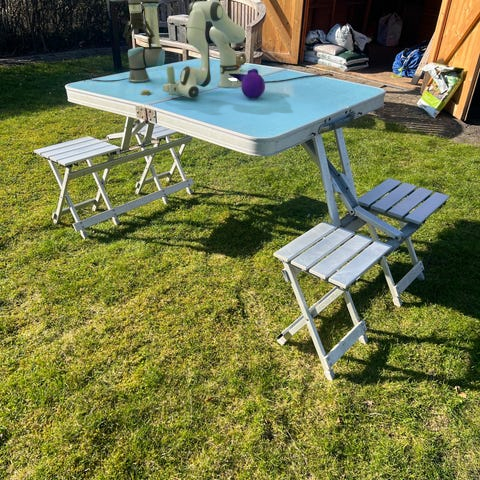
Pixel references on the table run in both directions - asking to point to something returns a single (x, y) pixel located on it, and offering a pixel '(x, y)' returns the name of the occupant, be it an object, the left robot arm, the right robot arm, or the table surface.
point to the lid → (145, 92)
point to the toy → (251, 83)
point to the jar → (170, 75)
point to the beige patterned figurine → (239, 59)
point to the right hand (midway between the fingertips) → (173, 84)
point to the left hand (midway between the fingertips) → (140, 49)
